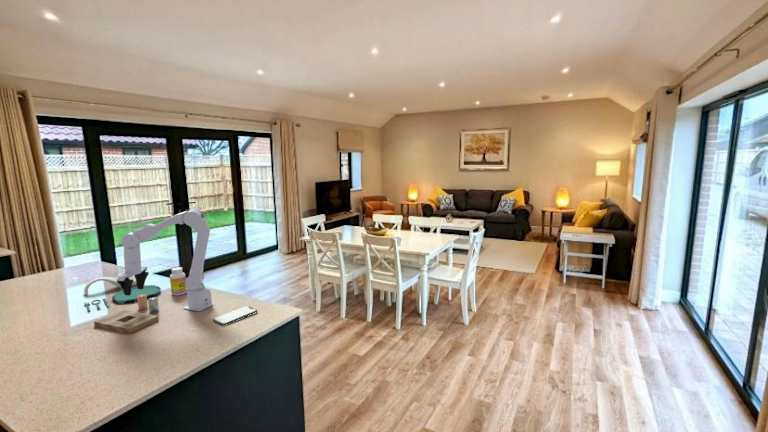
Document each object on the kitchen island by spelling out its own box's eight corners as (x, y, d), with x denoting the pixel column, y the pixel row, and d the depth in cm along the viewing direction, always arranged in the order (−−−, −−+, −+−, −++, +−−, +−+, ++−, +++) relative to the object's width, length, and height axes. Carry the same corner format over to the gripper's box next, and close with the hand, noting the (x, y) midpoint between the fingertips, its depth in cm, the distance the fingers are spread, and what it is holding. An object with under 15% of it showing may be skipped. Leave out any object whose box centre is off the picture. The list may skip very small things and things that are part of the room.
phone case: (223, 328, 144) (258, 313, 156) (223, 324, 144) (258, 309, 156) (212, 322, 149) (246, 308, 162) (211, 318, 149) (246, 305, 161)
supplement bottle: (180, 296, 176) (177, 271, 174) (168, 295, 177) (165, 270, 175) (190, 291, 182) (187, 266, 180) (178, 290, 184) (176, 266, 182)
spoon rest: (138, 280, 200) (137, 268, 199) (143, 286, 192) (141, 273, 191) (83, 292, 184) (81, 278, 183) (85, 298, 176) (83, 284, 175)
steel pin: (160, 310, 160) (159, 297, 159) (153, 313, 156) (151, 300, 155) (155, 309, 161) (153, 296, 160) (147, 312, 158) (146, 299, 157)
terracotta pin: (149, 307, 163) (148, 294, 162) (142, 310, 160) (140, 297, 159) (144, 306, 164) (142, 293, 163) (136, 309, 161) (134, 296, 160)
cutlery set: (165, 296, 177) (165, 291, 177) (87, 315, 157) (86, 310, 157) (156, 286, 192) (155, 282, 191) (83, 303, 171) (82, 298, 171)
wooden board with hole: (158, 320, 150) (158, 316, 149) (130, 333, 139) (129, 329, 138) (124, 314, 156) (123, 309, 156) (94, 326, 145) (93, 321, 145)
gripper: (135, 256, 160) (136, 285, 162) (109, 265, 145) (111, 297, 147) (151, 257, 160) (152, 286, 162) (127, 266, 145) (128, 298, 147)
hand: (134, 291), depth 154 cm, fingers open, 7 cm apart
